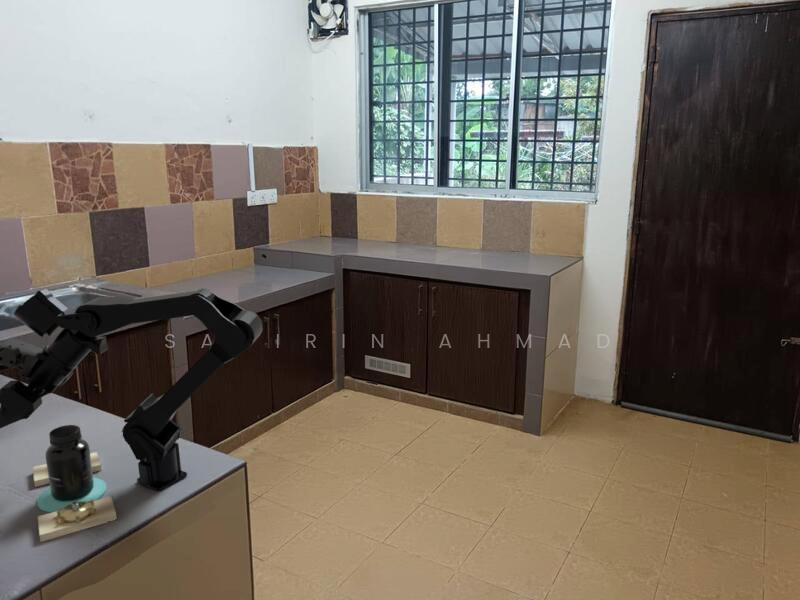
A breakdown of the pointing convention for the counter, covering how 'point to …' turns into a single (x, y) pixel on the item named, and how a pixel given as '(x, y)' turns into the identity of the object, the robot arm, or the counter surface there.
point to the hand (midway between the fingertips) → (6, 416)
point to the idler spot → (53, 505)
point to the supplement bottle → (69, 464)
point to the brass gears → (76, 512)
